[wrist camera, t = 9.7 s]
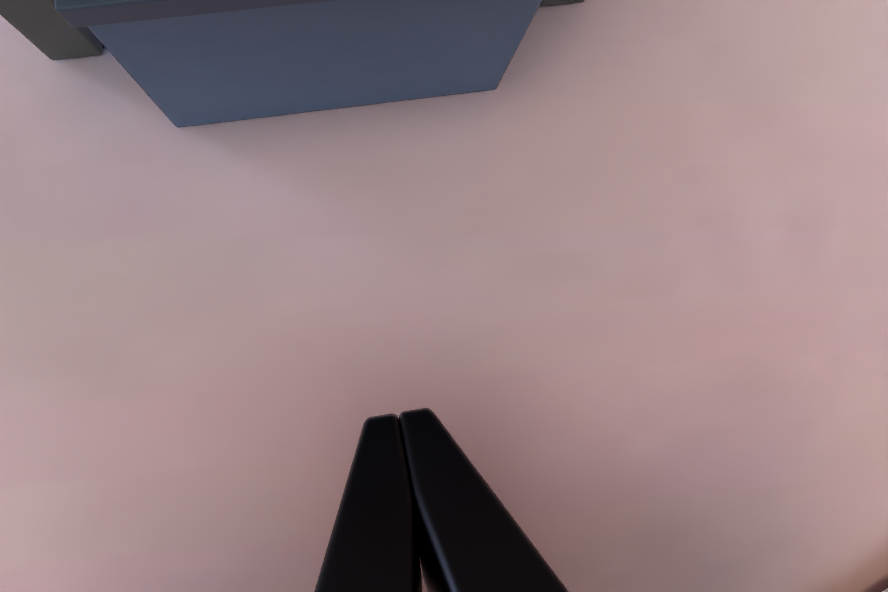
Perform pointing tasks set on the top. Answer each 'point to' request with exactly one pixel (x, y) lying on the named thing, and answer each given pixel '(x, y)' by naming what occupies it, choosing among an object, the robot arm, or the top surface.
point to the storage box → (302, 51)
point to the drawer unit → (37, 19)
